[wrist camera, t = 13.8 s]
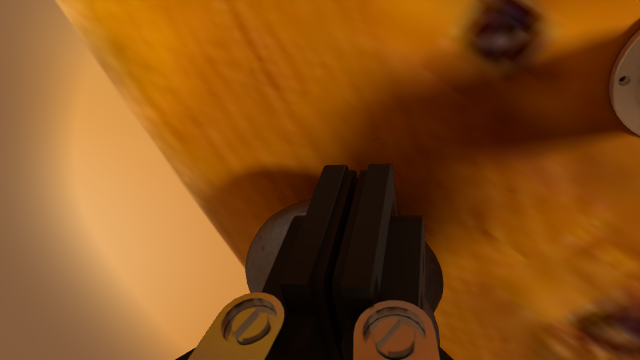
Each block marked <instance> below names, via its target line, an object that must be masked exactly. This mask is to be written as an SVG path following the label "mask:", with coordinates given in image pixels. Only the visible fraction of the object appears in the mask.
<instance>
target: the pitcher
mask: <svg viewBox="0 0 640 360" xmlns="http://www.w3.org/2000/svg"><path fill="white" fill-rule="evenodd" d="M310 202H311V200H308V201H304V202H301V203H298V204H295V205H292V206H289V207H287V208H285V209H283V210H281V211H280V212H278V213H276V214H274V215H272V216H271V217H270V218H269V219H268V220H267V221H266V222H265V223H264V225H263V226H262V227H261V228H260V229H259V231H258V233H257V234H256V236H255V238H254V240H253V242H252V244H251V245H250V247H249V251H248V254H247V258H246V267H245V272H246V278H247V284H248V287H249V290H250V293H255V292H258V293H261V292H262V290H263V287H264V285H265V282H266V280H267V278H268V275H269V273H270V271H271V268H272V266H273V263H274V261H275V259H276V256H277V254H278V252H279V249H280V247H281V244H282V242H283V240H284V237H285V235H286V233H287V230H288V228H289V226H290V223H291V221H292V219H293V217H295V216H296V215H306V212H307V210H308V207H309V204H310ZM397 216H401V215H400V214H398V213H397ZM442 294H443V276H442V270H441V267H440V264H439V262H438V260H437V258H436V256H435V254H434V252H433V251H432V250H431V248H430V247H429V245H428V244H427V243H426V241H425V294H424V312H425V313H426V314H427V315H428V317H429V318H430V319H431V321H432V324H433V327H434V329H435V334H436V340H437V345H438V346H439V347H440V339H439V329H438V325H437V322H436V319H435V316H434V312H435V310H436V308H437V306H438V304H439V302H440V300H441V298H442Z"/></svg>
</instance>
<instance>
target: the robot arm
mask: <svg viewBox="0 0 640 360" xmlns="http://www.w3.org/2000/svg"><path fill="white" fill-rule="evenodd" d="M623 76H624V77H623ZM621 77H623V78H622V79H620V78H621ZM619 79H620V80H619ZM609 96H610V101H611V105H612V107H613V109H614V111H615V113H616V115H617V116H618V117H619V119H620V120H621V121H622V123H623V124H624V125H625V126H626V127H628V128H629V129H630V130H631V131H632V132H634V133H636V134H638V135H639V136H640V29H639V30H638V31H637V32H636V33H635V34H634V35H633V36H632V38H631V39H630V40H629V41H628V42H627V44H626V45H625V47H624V48H623V49H622V51H621V52H620V54H619V56H618V58H617V60H616V62H615V64H614V66H613V69H612V73H611V76H610V80H609ZM424 294H425V235H424V219H423V216H397V207H396V197H395V187H394V176H393V167H392V164H391V163H390V164H369V166H368V170H361V171H360V175H359V178H358V181H357V175H356V171H355V170H349V168H348V166H347V165H326V166H325V167H324V168H323V171H322V174H321V176H320V179H319V181H318V184H317V186H316V189H315V192H314V194H313V197H312V199H311V202H310V204H309V207H308V210H307V212H306V215H296V216H295V217H293V219H292V221H291V223H290V226H289V228H288V230H287V233H286V235H285V237H284V240H283V242H282V244H281V247H280V249H279V252H278V254H277V256H276V259H275V261H274V263H273V266H272V268H271V271H270V273H269V275H268V278H267V280H266V282H265V285H264V287H263V290H262V292H261V293H258V292H255V293H250V294H245V295H243V296H241V297H238V298H236V299H234V300H233V301H232V302H230V303H229V304H227V305H226V306H225V307H224V308H223V309H222V311H221V312H220V313H219V314H218V316H217V317H216V319H215V320H214V322H213V323H212V324H211V326H210V327H209V329H208V330H207V332H206V333H205V335H204V336H203V338H202V339H201V341H200V342H199V344H198V345H197V347H196V348H194V349H192V350H191V351H189V352H187V353H186V354H184V355H182V356H181V357H179V358H177V359H176V360H453V359H452V358H451V357H450V356H449V355H448V354H447V353H446V352H445V351H444V350H443V349H441V348H440V347H439V346H438V345H437V340H436V334H435V329H434V327H433V324H432V321H431V319H430V318H429V317H428V315H427V314H426V313H425V312H424Z"/></svg>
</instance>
